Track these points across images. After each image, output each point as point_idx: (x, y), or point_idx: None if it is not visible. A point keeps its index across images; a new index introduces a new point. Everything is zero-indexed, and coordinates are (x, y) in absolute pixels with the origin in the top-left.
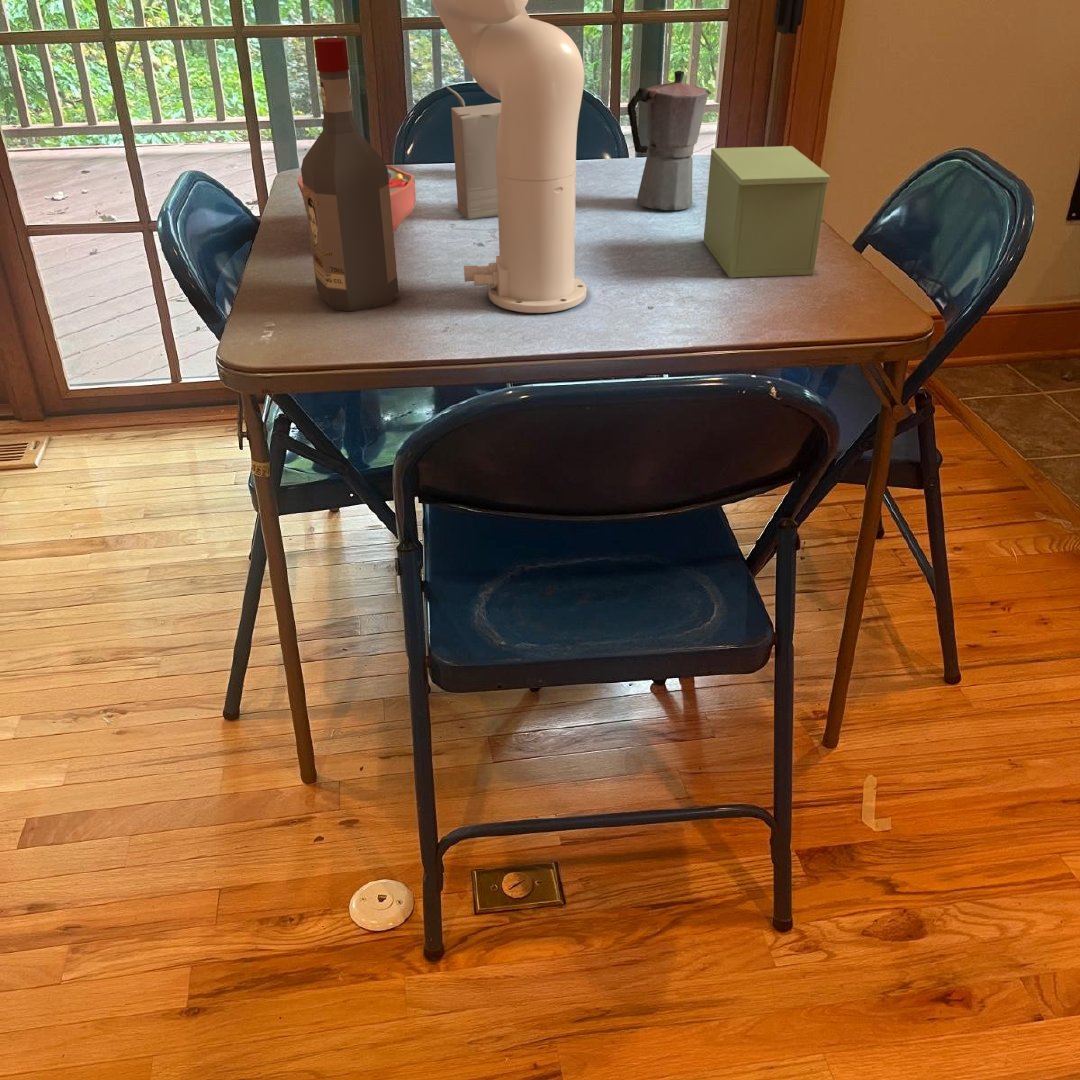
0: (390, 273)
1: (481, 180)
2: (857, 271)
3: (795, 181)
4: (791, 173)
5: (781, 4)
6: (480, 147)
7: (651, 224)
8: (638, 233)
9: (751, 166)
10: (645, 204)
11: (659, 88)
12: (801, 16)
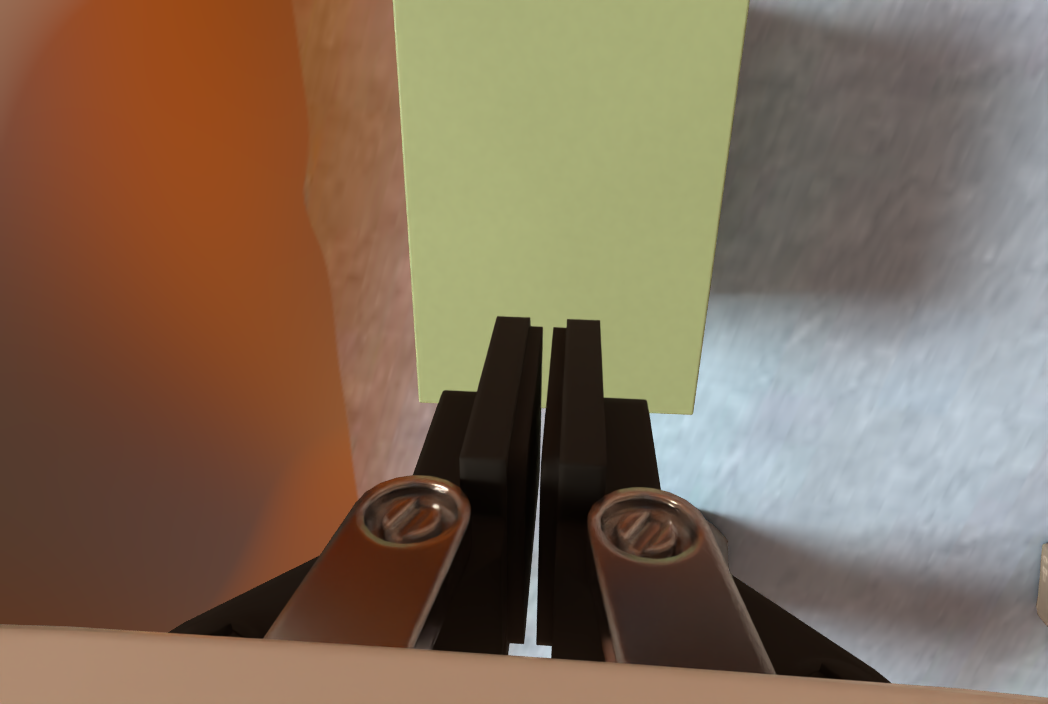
0: None
1: None
2: (329, 9)
3: None
4: (529, 33)
5: (641, 483)
6: None
7: (741, 435)
8: (798, 378)
9: (644, 158)
10: (721, 538)
11: None
12: (442, 412)
